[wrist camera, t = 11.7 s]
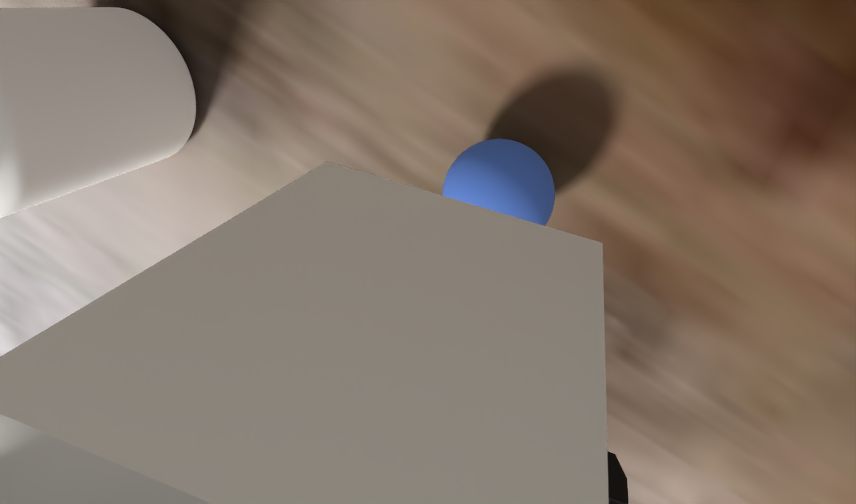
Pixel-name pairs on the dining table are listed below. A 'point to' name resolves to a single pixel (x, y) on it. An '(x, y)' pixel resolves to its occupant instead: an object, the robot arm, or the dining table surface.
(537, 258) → the white matte cube
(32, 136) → the beverage can
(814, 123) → the dining table surface
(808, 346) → the dining table surface
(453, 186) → the ball
